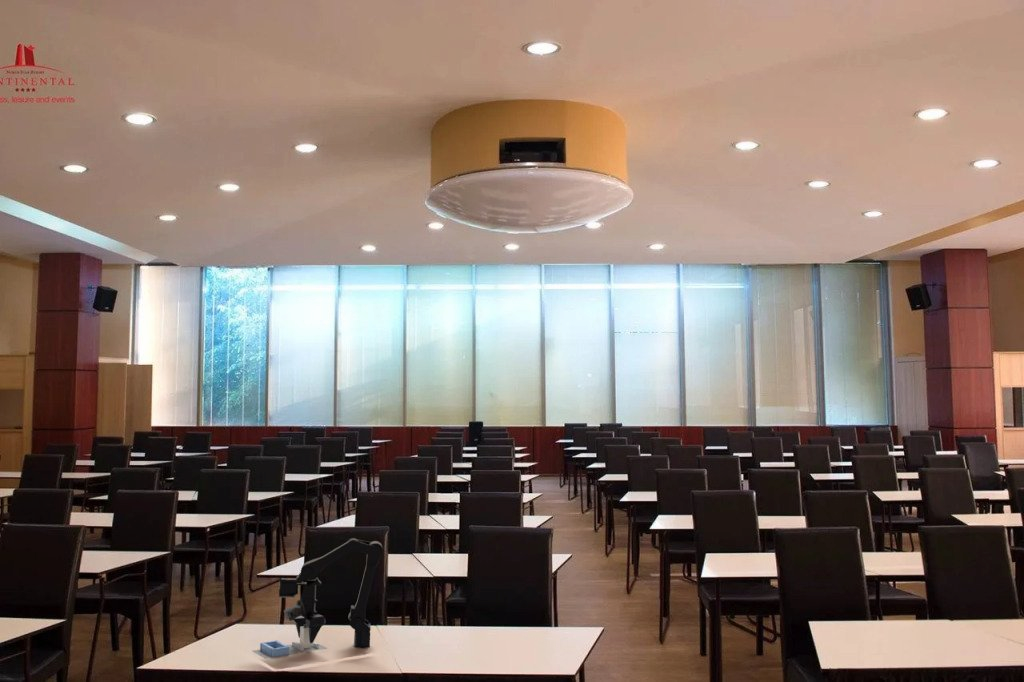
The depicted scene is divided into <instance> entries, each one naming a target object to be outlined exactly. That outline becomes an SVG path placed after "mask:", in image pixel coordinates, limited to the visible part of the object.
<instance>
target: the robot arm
mask: <svg viewBox="0 0 1024 682" xmlns="http://www.w3.org/2000/svg"><path fill="white" fill-rule="evenodd" d="M354 551H355V552H358V553H361V554H363V555H366V563H365V564H366V565H365V568H364V572H363V577H362V581H361V585H360V589H359V591H358V592H359V593H358V597H357V601H356V603H355V605H353V604H352V605H350V612H349V613H348V618H347V619H348V621H349V625H350V627H351V628H352V629H353V630H354V637H353V646H354V648H358V649H366V648H371V647H370V646H371V622H369V620H367V619H366V617H367V615H366V614H367V605H368V600H369V596H370V592H371V587H372V583H373V580H374V576H375V571H376V568H377V566H378V564H379V563H380V560H381V558H382V556H383V552H384V548H383V545H382V543H381V542H380V541H377V540H373V541H366V540H361V539H356V537H354V538H349V539H348V540H347V541H346V542H345V543H343V544H341V545H339V546H337V547H336V548H334V549H332V550H330V552H328V553H326V554H324V555H323V556H321V557H317V558H313V559H311V560H309V561H306V562H305V563H303V564H302V566H301V568H300V572H299V574H298V575H297V576H296V578H285V577H281V578H280V585H279V588H278V589H279V590H278V597H279V598H280V599H281V598H296V596H297V595H299V598H298V599H297V600H296V604H294V605H292V606H290V607H288V608H286V609H284V610H283V614H284V617H285V619H286V620H288V621H293V623H294V624H295V627H296V628H295V629H296V631H297V635H298V638H299V639H300V627H302V626H304V624H307V625H306V627H307V628H308V629H309V640H310V643H313V642H315V640H316V639H317V638H316V637H317V636H318V634H319V632H320V630H321V628H322V627H323V626H324V625H325V624H326V617H325V616H324V615H321V614H318V611H316V604H318V603H319V601H318V599H316V598H317V597H316V596H317V595H316V594H317V586H321V585H322V581H321V580H319V579H320V578H319V577H316V576H317V575H319V574H320V573H321V572H322V571H323V570H324V569H326V568H327V566H329V565H331V564H332V563H335V562H336V561H338V560H339V559H341V558H343V557H344V556H346V555H348V554H349V553H351V552H354ZM315 577H316V578H315ZM314 578H315V579H314ZM304 581H305V582H304ZM299 589H300V590H299Z"/></svg>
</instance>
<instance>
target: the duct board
mask: <svg viewBox="0 0 1024 682" xmlns="http://www.w3.org/2000/svg"><path fill="white" fill-rule="evenodd" d="M325 649H327V647H326V646H324V645H322V644H319V643H318V642H316V641H314V642H313V643H311V647H310V648H304V646H303V645H301V644H300V642H296V641H292V642H291V644H285V643H282V642H281V641H278V640H269V641H263V642H260V644H259V649H255V650H254V649H253V650H252V652H253V653H255V654H257V655H258V656H260V657H262V658H264V659H270V658H276V657H284V656H289V655H295V654H300V653H308V652H314V651H320V650H325Z"/></svg>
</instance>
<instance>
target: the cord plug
mask: <svg viewBox="0 0 1024 682" xmlns="http://www.w3.org/2000/svg"><path fill="white" fill-rule="evenodd" d="M306 625H307V624H304V626H302V627H300V638H299V643H300V644H301V645H303V646H304V648H310V647H311V643H310V640H309V629H308V628H307V627H306Z"/></svg>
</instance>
